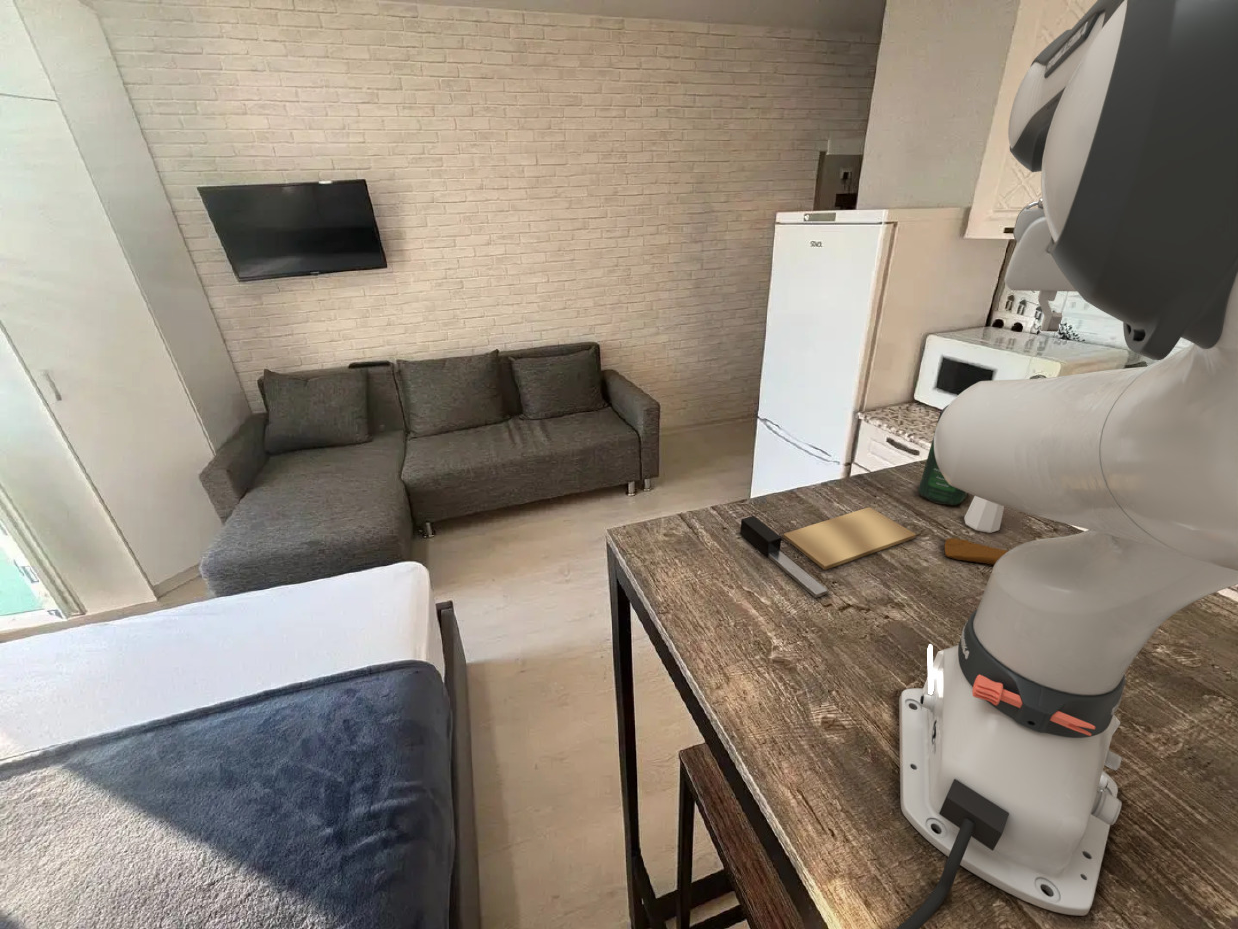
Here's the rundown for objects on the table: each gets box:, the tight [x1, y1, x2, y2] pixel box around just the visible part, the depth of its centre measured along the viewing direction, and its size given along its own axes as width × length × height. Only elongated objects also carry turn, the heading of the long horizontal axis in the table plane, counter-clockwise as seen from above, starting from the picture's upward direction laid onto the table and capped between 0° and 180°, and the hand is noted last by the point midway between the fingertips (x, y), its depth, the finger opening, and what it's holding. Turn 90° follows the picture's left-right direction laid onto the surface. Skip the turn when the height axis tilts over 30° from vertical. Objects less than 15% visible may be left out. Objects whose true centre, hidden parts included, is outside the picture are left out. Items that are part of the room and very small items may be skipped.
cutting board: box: [782, 506, 917, 571], centre depth 88 cm, size 20×10×1 cm, turn 113°
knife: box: [739, 515, 829, 599], centre depth 82 cm, size 18×3×3 cm, turn 23°
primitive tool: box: [944, 537, 1009, 566], centre depth 79 cm, size 19×6×4 cm, turn 61°
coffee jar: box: [917, 404, 968, 506], centre depth 96 cm, size 10×8×19 cm
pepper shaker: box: [963, 495, 1005, 534], centre depth 88 cm, size 5×5×11 cm
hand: (1103, 332), depth 55 cm, fingers open, 8 cm apart
